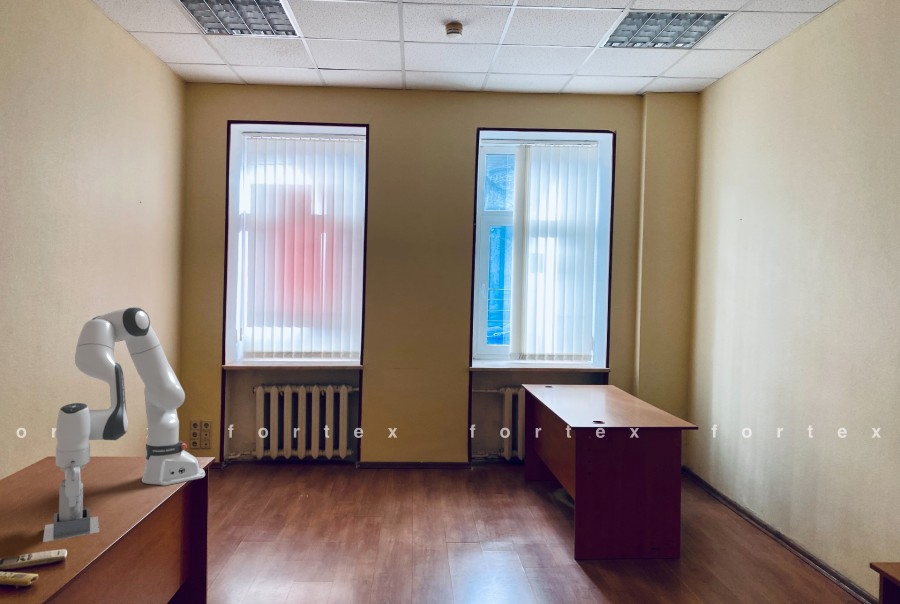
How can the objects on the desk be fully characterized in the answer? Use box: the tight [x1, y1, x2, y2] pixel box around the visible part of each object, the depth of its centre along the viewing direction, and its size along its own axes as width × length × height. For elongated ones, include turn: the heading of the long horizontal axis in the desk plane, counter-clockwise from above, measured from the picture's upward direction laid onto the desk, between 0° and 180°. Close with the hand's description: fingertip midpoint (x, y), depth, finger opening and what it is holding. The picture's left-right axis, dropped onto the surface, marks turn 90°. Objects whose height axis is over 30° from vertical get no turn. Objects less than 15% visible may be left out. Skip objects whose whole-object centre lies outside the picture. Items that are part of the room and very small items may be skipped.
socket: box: [42, 507, 100, 543], centre depth 175 cm, size 14×14×5 cm
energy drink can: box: [58, 477, 84, 522], centre depth 175 cm, size 6×6×15 cm
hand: (72, 502), depth 175 cm, fingers closed on energy drink can, 6 cm apart
